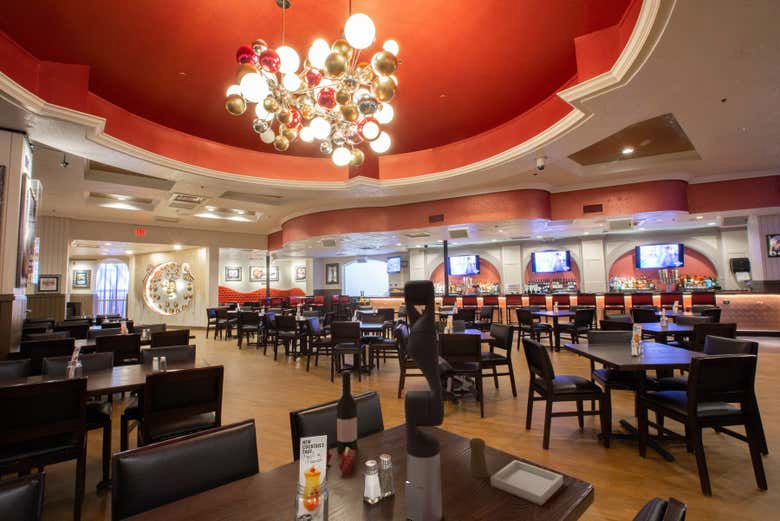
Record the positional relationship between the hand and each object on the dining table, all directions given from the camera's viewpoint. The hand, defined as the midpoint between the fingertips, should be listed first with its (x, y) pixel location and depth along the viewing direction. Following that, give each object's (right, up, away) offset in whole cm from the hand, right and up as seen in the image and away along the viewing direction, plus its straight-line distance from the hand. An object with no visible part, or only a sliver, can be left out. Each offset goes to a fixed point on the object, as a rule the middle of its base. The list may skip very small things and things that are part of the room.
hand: (467, 398), depth 126 cm
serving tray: (+17, -23, -10) cm, 30 cm away
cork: (+3, -24, -2) cm, 25 cm away
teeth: (-46, -26, +3) cm, 53 cm away
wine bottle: (-43, -27, +19) cm, 55 cm away
